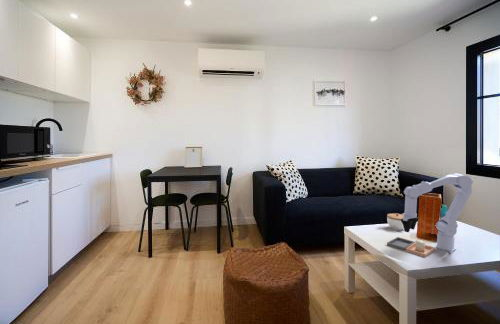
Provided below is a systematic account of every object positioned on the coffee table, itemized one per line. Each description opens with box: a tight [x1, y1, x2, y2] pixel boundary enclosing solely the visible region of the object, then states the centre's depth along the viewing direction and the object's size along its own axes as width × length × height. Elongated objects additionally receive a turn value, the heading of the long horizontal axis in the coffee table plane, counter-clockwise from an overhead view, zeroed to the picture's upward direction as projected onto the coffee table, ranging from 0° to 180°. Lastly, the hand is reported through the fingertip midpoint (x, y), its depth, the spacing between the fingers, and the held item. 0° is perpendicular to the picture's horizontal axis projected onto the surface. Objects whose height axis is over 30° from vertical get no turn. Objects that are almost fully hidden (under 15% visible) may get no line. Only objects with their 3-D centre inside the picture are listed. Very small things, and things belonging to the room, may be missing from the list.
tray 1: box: [386, 236, 416, 252], centre depth 148 cm, size 14×10×2 cm
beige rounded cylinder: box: [415, 239, 426, 252], centre depth 140 cm, size 4×4×5 cm
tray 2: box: [405, 241, 436, 258], centre depth 140 cm, size 14×10×2 cm
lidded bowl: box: [386, 212, 404, 231], centre depth 177 cm, size 13×13×11 cm
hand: (409, 230), depth 146 cm, fingers open, 7 cm apart
